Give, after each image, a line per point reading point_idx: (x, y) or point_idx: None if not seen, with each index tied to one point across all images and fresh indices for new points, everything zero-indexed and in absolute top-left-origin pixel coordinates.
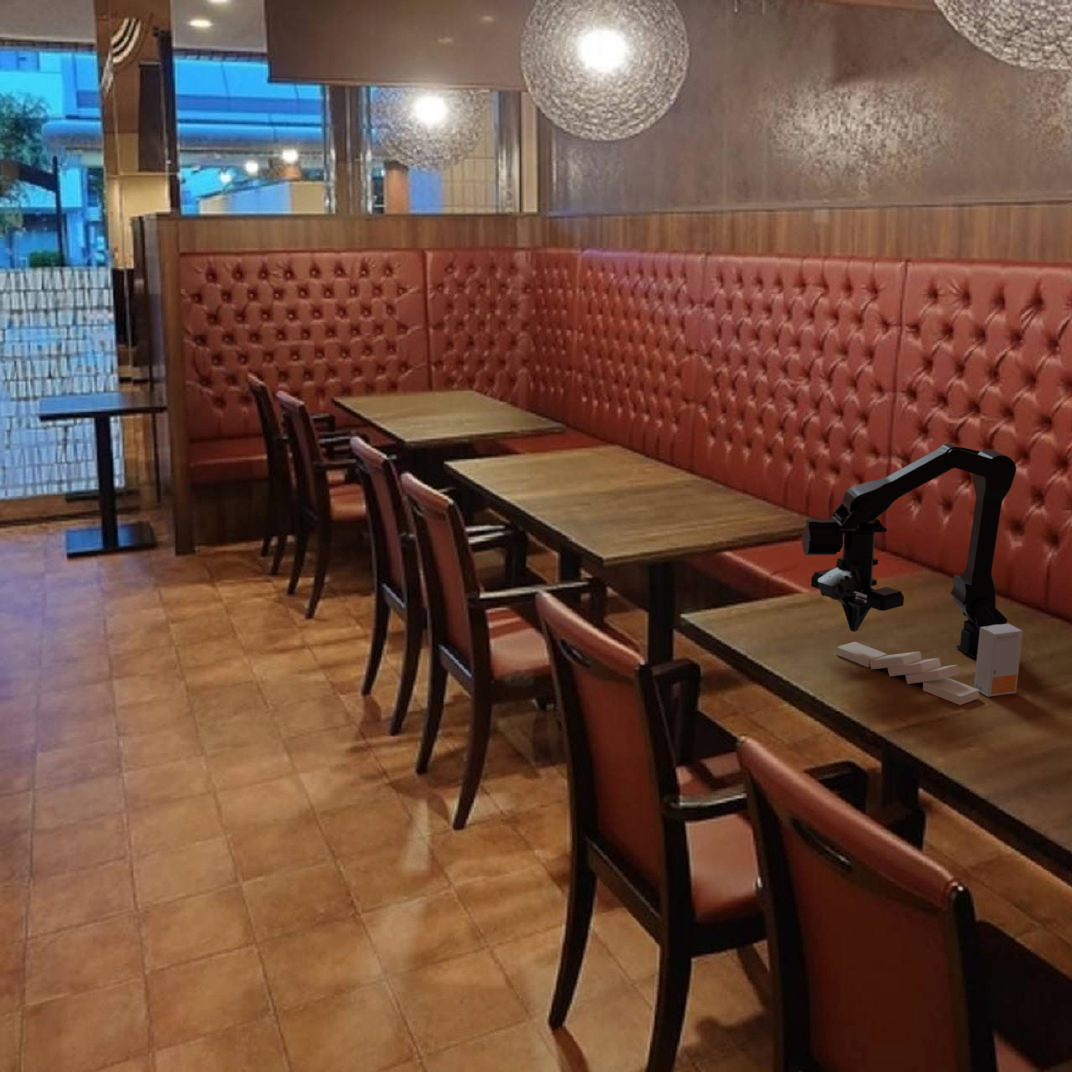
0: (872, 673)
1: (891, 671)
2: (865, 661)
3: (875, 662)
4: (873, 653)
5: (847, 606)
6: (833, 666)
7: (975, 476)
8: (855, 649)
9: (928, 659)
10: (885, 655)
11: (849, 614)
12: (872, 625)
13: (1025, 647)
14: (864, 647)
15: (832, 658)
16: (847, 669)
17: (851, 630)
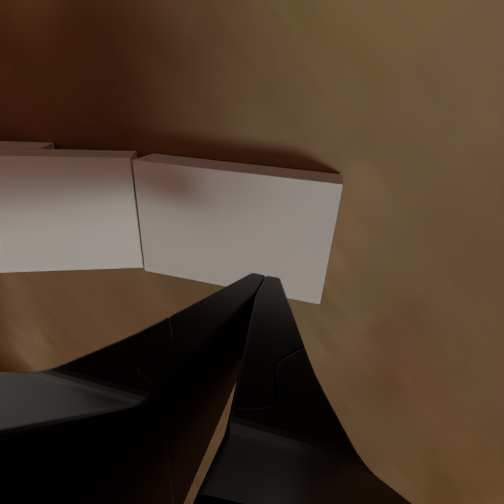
0: (102, 114)
1: (26, 144)
2: (156, 158)
3: (94, 155)
4: (174, 239)
5: (234, 417)
6: (255, 21)
7: None
8: (252, 223)
9: None
10: (146, 261)
11: (246, 345)
12: (409, 491)
13: None
14: (243, 271)
15: (329, 119)
16: (187, 54)
17: (268, 276)
